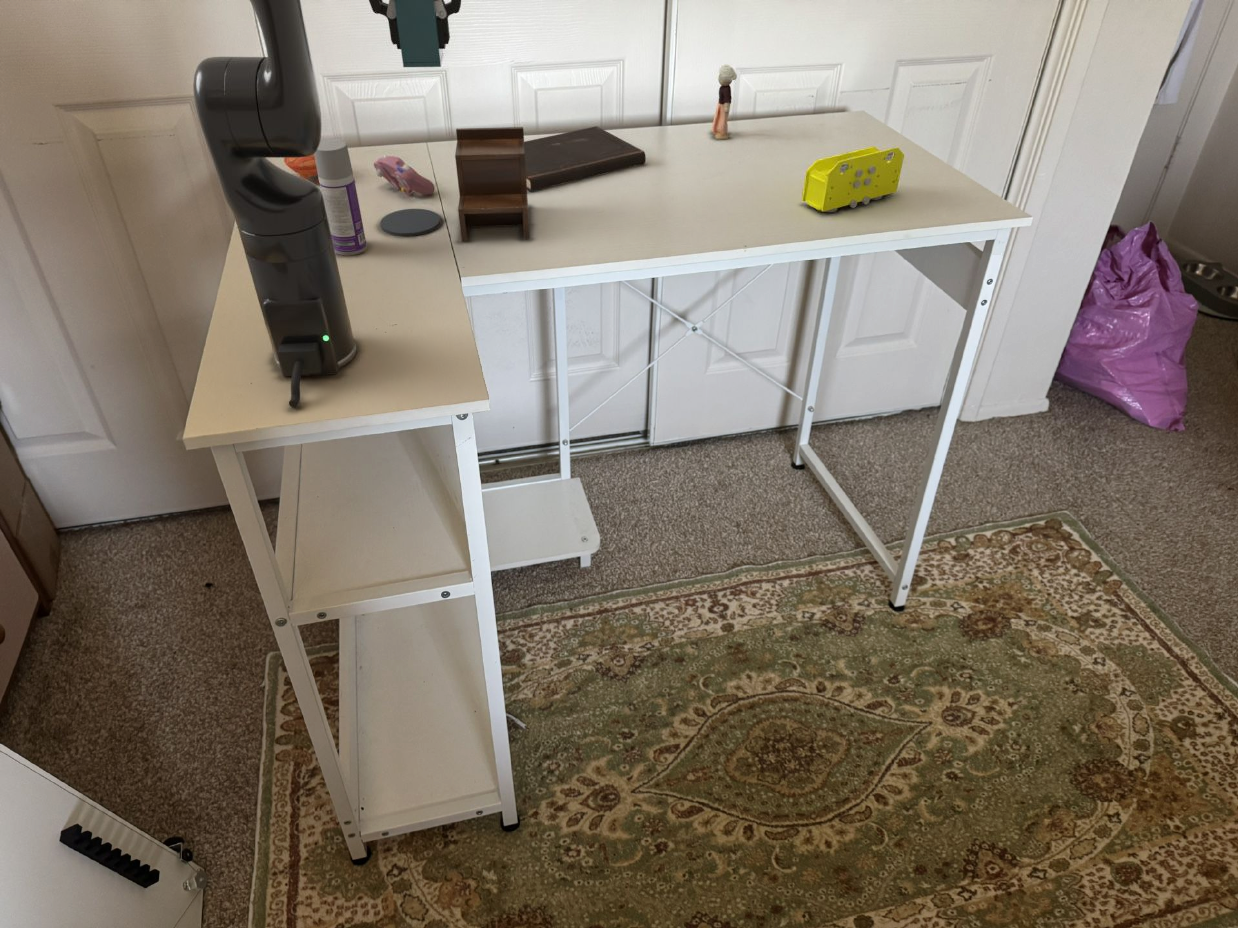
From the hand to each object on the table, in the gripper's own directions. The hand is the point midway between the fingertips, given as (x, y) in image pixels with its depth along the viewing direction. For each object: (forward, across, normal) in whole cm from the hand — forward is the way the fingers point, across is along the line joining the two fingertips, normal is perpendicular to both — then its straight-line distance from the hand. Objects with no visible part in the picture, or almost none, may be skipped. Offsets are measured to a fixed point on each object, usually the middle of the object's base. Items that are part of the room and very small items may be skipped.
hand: (421, 47), depth 117 cm
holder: (+2, 0, 0) cm, 2 cm away
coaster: (+25, -5, 0) cm, 25 cm away
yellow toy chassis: (+25, +65, +4) cm, 70 cm away
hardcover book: (+25, +20, +23) cm, 39 cm away
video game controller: (+25, -7, +13) cm, 29 cm away
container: (+25, -13, -8) cm, 29 cm away
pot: (+25, -23, +20) cm, 39 cm away
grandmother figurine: (+25, +50, +36) cm, 66 cm away
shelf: (+25, +8, -1) cm, 26 cm away
